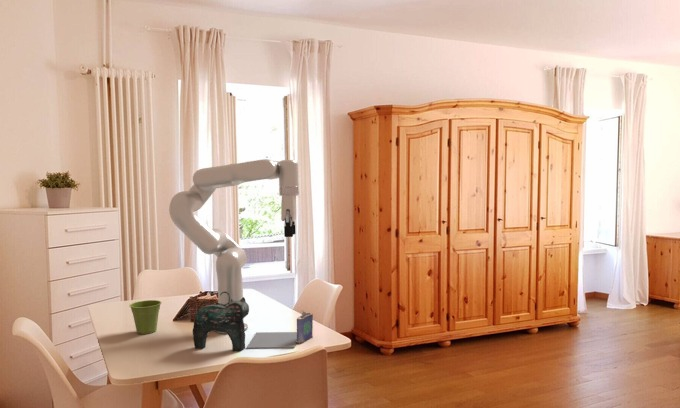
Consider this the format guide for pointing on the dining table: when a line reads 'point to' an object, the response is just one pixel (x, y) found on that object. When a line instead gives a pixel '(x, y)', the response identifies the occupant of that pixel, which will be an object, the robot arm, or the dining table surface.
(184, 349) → the dining table surface
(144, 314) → the plant pot
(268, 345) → the mat
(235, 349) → the ceramic cat
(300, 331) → the flask
